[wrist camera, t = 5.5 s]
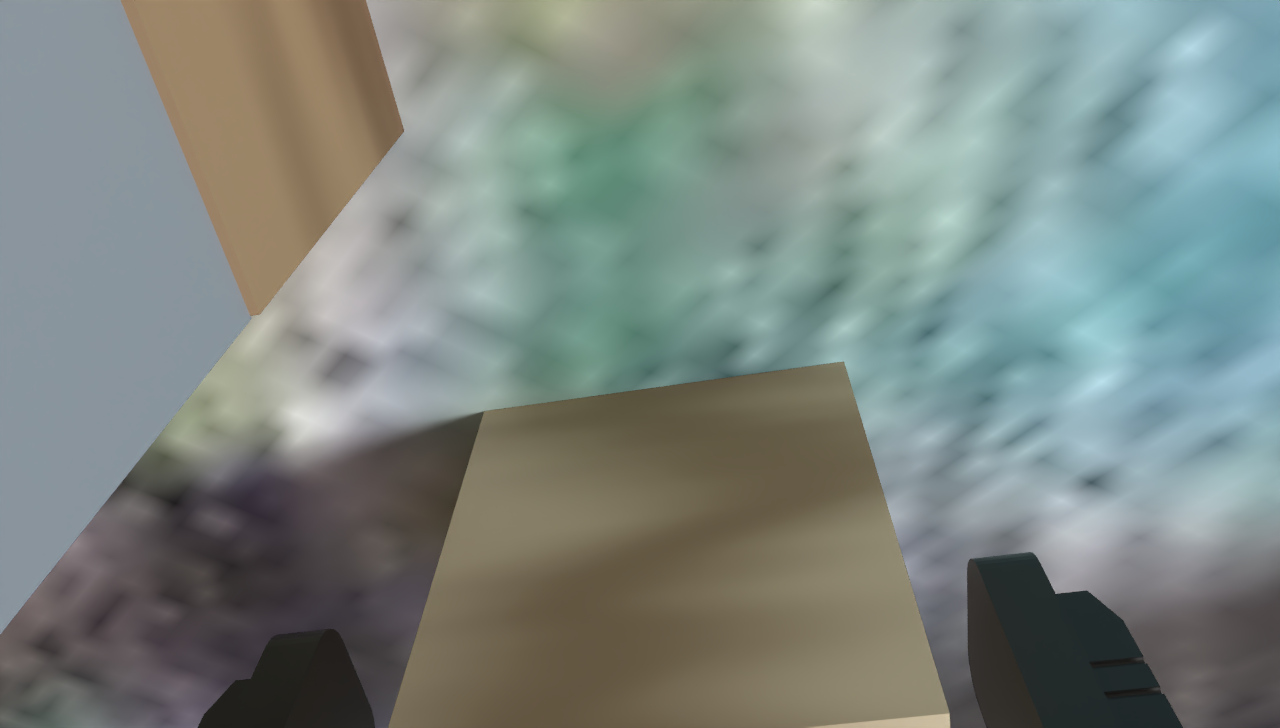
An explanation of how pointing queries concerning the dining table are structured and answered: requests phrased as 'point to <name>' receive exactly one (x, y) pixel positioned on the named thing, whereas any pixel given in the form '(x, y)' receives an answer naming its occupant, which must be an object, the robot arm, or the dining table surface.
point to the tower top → (91, 276)
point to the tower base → (270, 118)
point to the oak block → (674, 569)
